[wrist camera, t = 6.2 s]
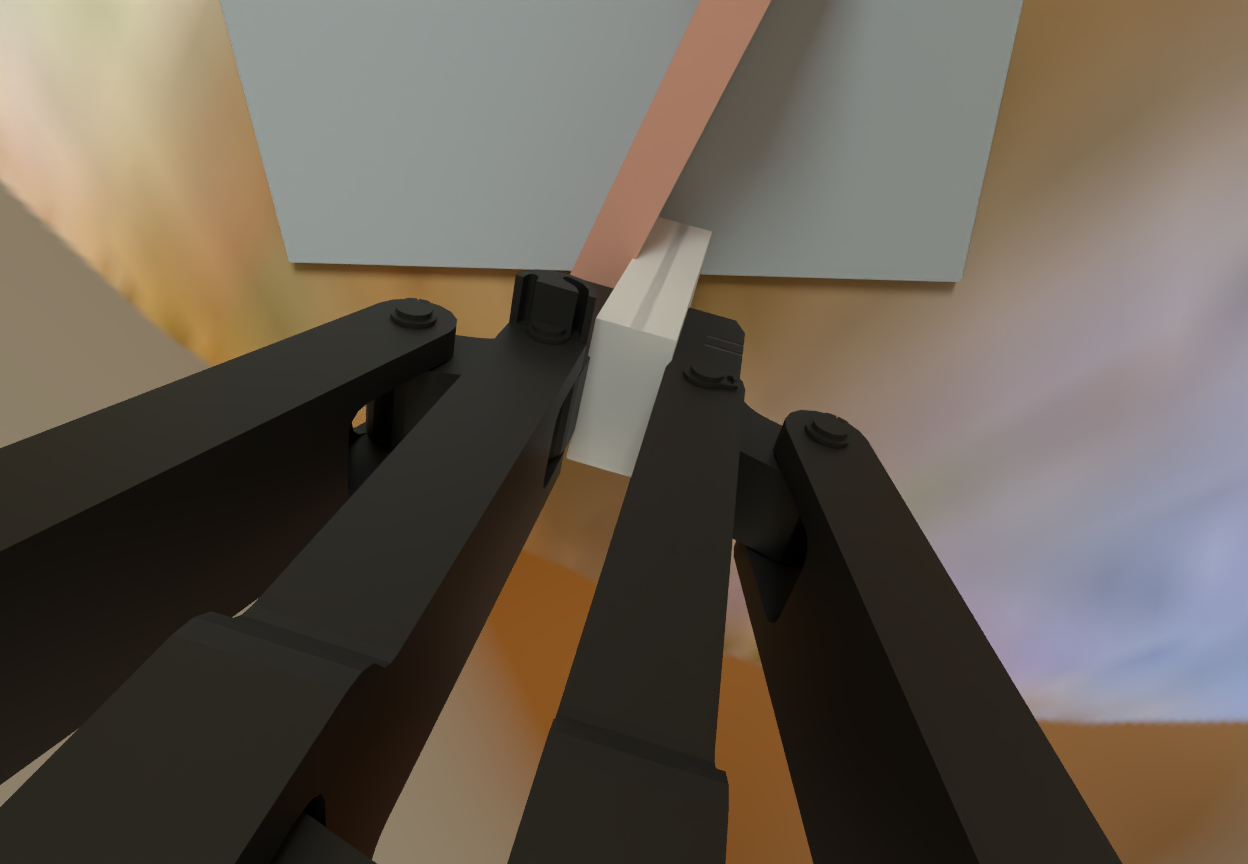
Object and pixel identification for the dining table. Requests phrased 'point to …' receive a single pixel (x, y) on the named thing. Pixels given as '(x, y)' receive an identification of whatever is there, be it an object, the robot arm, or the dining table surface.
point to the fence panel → (668, 135)
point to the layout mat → (623, 130)
